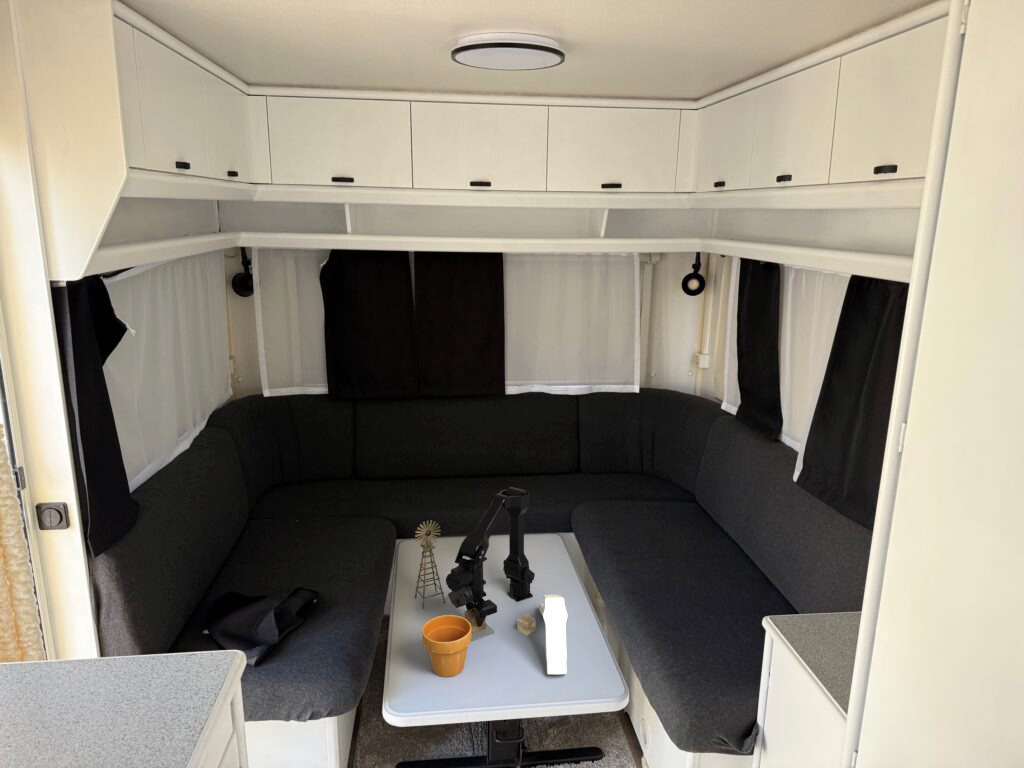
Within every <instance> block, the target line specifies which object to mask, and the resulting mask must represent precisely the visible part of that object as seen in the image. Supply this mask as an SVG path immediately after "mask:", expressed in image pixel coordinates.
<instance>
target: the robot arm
mask: <svg viewBox="0 0 1024 768" xmlns="http://www.w3.org/2000/svg"><path fill="white" fill-rule="evenodd" d="M530 500H531V496H530V492H528V491H527V490H525V489H521V488H517V487H512V486H509V487H508V488H507V489H503V490H500V492H499V493H496V494H494V495H493V497H492V501H491V504H490V505H489V507H488V509H487V511H486V512H485V514H484V515H483V517H482V519H481V520H480V522H479V523H478V525H477V527H476V529H475V530H473V531H472V532H469V533H468V534H467V535H466V537H465V538H464V539H463V540H462V542H461V544H460V546H459V549H458V552H457V555H456V557H455V560H454V563H456V564H458V565H457V566H456V567H453V568H452V569H450V573H448V574H446V575H447V576H446V578H445V583H446V586H447V588H448V590H450V592H448V594H447V596H448V597H447V598H448V599H449V602H450V603H451V605H453V606H454V607H455V608H456V609H459V608H460V607H461V608H463V607H465V609H466V611H468V610H471V609H474V610H472V611H473V612H474V613H475V614H476V619H477V624H478V627H481V626H482V624H483V622H484V620H485V618H486V619H487V617H488V616H491V615H494V614H496V613H498V604H495V603H494V602H493V601H492V600H491V599H484V597H487V592H486V591H485V590H484V589H485V587H484V586H485V585H487V580H486V579H484V562H486V561H487V560H488V558H487V557H486V554H487V551H488V550H489V547H490V538H491V535H492V534H493V532H494V531H495V529H496V527H497V525H498V524H499V522H500V521H501V518H502V517H503V515H504V513H505V512H506V511H507V513H508V515H509V516H508V520H509V522H508V523H509V527H508V530H509V534H508V536H509V539H508V541H509V542H508V544H509V546H508V547H509V548H508V549H509V550H508V551H509V554H508V555H507V557H506V558H505V559H504V560H502V561H503V562H502V563H503V569H502V571H503V572H504V575H505V577H506V579H509V580H510V581H509V584H508V588H509V589H508V592H507V594H508V595H509V596H510V597H511V598H512V599H513V600H514V601H516V602H521V601H523V600H526V599H529V598H532V597H533V596H534V594H532V592H531V584H533V581H534V580H535V576H536V575H535V574H536V573H535V572H534V571H532V570H531V569H530V563H529V559H528V558H527V556H526V554H525V513H526V511H527V510H528V509H529V505H530ZM464 557H466V558H464ZM467 558H469V559H467Z"/></svg>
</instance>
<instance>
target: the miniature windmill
mask: <svg viewBox="0 0 1024 768" xmlns="http://www.w3.org/2000/svg"><path fill="white" fill-rule="evenodd" d="M429 522H430V523H429ZM440 528H441V526H440V525H439V523H438V522H437V523H436V521H433V520H432V519H431V520H430V521H429V520H426V522H425V521H423V522H422V524H421V523H420V524H419V527H417V529H416V530H415V535H414V537H415V540H416V541H417V544H420V545H419V546H420V547H421V548H422V551H421V559H420V563H419V570H418V574H417V581H416V587H415V591H414V592H415V593H414V599H417V597H418V594H419V595H420V597H421V599H422V608H421V609H422V610H424V609H425V599H428V598H432V597H436V596H439V595H441V597H442V601H443V604H445V603H446V599H445V597H444V594H445V592H443V588H442V584H441V577H440V576H439V572H438V569H437V567H438V565H437V563H436V560H435V554H434V552H433V550H434V549H436V546H435V545H434V543H436V542H437V540H438V539H440V537H439V536H441V533H438V532H442V530H441V529H440ZM429 534H430V535H429ZM436 539H437V540H436ZM427 553H429V554H427ZM427 558H429V559H430V561H428V562H427ZM423 561H424V562H423ZM429 564H430V565H431V566H429V567H427V566H426V565H429ZM434 569H435V570H434ZM427 570H431V571H430V572H427V573H426V571H427ZM422 571H423V574H422ZM431 574H432V577H429V578H426V576H427V575H431ZM422 577H423V578H422ZM436 577H437V578H436ZM436 581H437V582H438V584H439V585H438V584H437V582H436ZM421 582H422V583H423V585H422V586H419V585H420V583H421ZM430 582H432V583H430ZM426 583H430V584H426ZM432 585H434V592H435V593H434V594H431V595H428V596H425V594H426V593H425V592H426V587H429V586H432ZM437 588H438V589H437ZM419 589H422V593H420V591H419ZM438 590H440V592H438Z"/></svg>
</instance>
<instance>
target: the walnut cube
mask: <svg viewBox="0 0 1024 768" xmlns="http://www.w3.org/2000/svg"><path fill="white" fill-rule="evenodd" d="M472 610H474V609H471V610H468V611H467V610H465V611H464V618H465V619H467V620H468V621H469V622H470V624H471V627H472V633H474V632H477V631H480V630H483V629H486V623H487V617H486V618H485V620H484V622H483V624H482V626H481V627H478V624H477V619H476V614H475V613H474V612H473V611H472Z"/></svg>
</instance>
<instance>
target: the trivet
mask: <svg viewBox="0 0 1024 768" xmlns="http://www.w3.org/2000/svg"><path fill="white" fill-rule="evenodd" d="M493 634H495V630H494V629H493V628H492V627H491V626H489V624H488V623H487V622H486V629H483V630H480V631H477V632H474V633H472V639H471V642H473V641H476V640H481V639H482V638H484V637H487V636H490V635H493Z"/></svg>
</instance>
